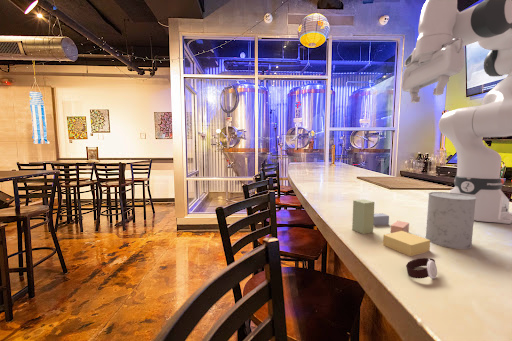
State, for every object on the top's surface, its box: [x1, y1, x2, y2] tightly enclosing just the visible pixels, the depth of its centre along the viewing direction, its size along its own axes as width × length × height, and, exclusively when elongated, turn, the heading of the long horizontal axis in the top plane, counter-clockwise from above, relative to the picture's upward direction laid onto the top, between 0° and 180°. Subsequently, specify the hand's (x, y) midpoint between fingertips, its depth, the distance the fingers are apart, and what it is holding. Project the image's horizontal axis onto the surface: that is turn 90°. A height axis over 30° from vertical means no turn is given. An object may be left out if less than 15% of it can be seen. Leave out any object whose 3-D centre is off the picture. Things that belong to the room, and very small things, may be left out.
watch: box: [406, 257, 438, 279], centre depth 46 cm, size 8×5×4 cm, turn 126°
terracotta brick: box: [390, 220, 410, 233], centre depth 68 cm, size 6×3×3 cm, turn 134°
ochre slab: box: [382, 231, 431, 257], centre depth 58 cm, size 7×7×3 cm
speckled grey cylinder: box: [424, 191, 476, 250], centre depth 62 cm, size 10×10×12 cm
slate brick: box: [373, 213, 390, 226], centre depth 77 cm, size 6×3×3 cm, turn 99°
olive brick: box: [351, 198, 375, 235], centre depth 70 cm, size 4×4×9 cm
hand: (425, 98), depth 71 cm, fingers open, 8 cm apart
